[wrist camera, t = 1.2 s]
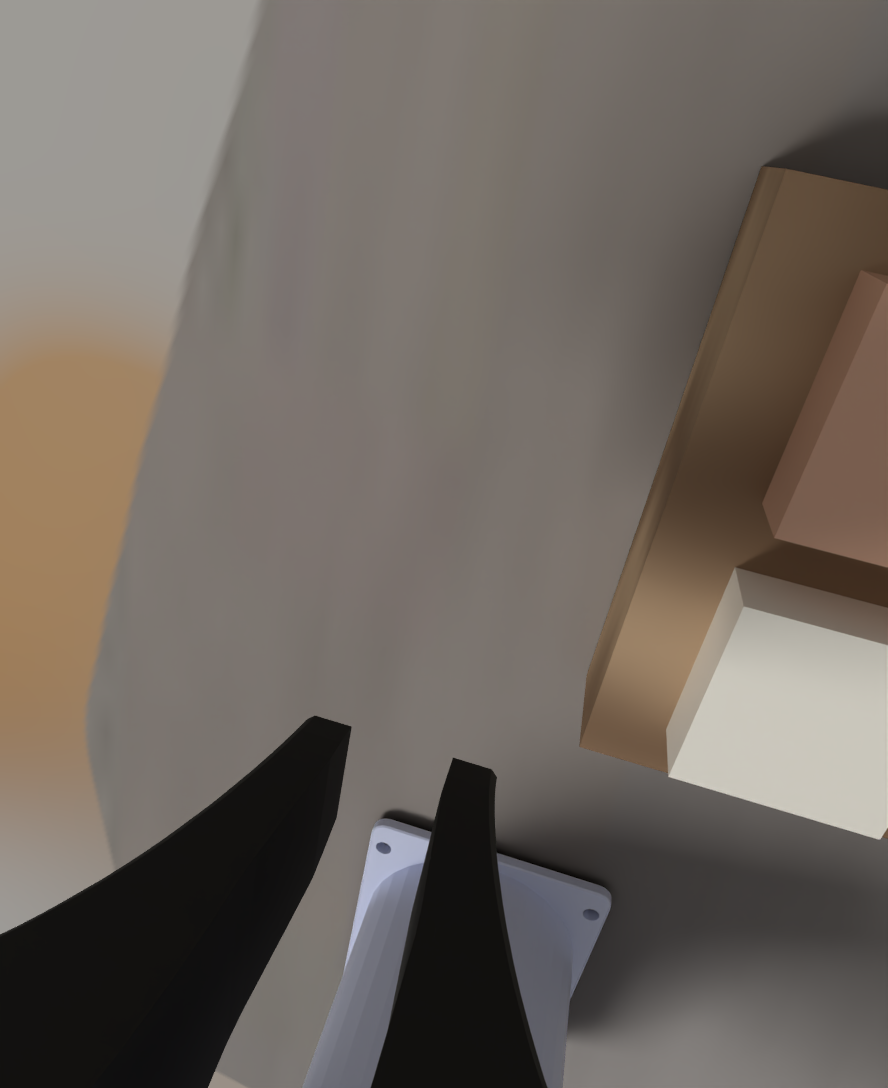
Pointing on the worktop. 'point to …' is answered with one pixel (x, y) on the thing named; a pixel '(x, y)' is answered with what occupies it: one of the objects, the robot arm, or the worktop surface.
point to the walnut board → (734, 454)
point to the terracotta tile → (841, 441)
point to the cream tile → (789, 704)
